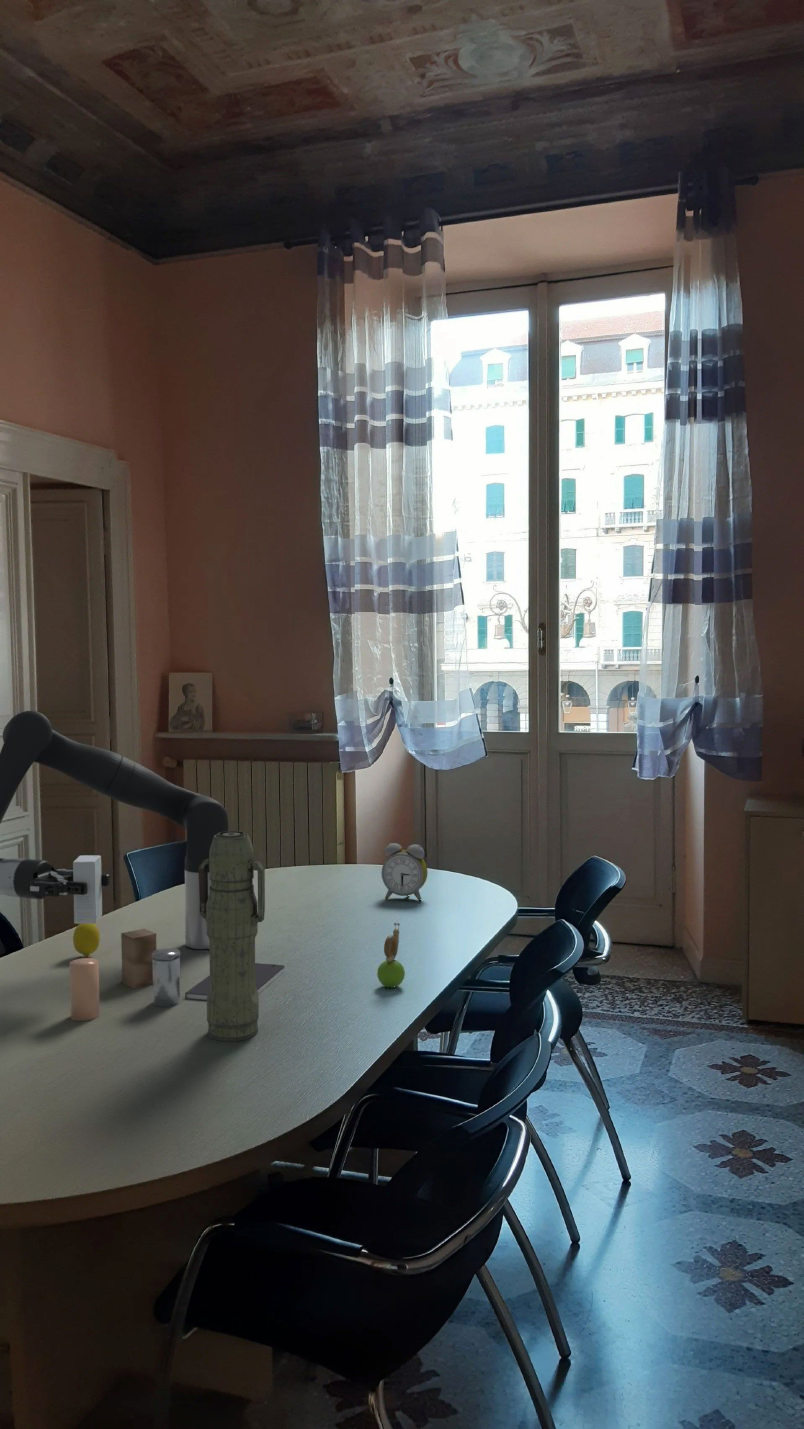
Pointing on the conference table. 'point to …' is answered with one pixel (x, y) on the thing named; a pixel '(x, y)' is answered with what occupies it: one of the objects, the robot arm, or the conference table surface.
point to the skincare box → (88, 889)
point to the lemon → (86, 938)
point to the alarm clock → (404, 870)
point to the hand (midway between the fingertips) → (97, 884)
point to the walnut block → (137, 957)
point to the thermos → (232, 934)
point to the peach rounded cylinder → (84, 989)
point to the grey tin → (166, 977)
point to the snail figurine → (391, 962)
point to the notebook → (262, 980)
